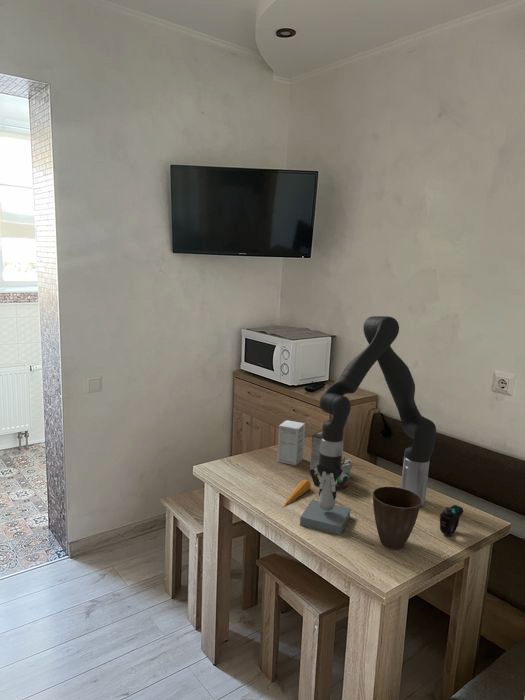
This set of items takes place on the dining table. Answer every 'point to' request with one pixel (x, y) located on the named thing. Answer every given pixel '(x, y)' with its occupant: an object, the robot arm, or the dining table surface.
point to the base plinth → (325, 518)
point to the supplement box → (291, 442)
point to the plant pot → (395, 515)
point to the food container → (345, 471)
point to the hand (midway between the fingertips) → (327, 499)
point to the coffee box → (315, 449)
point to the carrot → (299, 491)
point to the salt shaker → (326, 495)
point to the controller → (450, 519)
